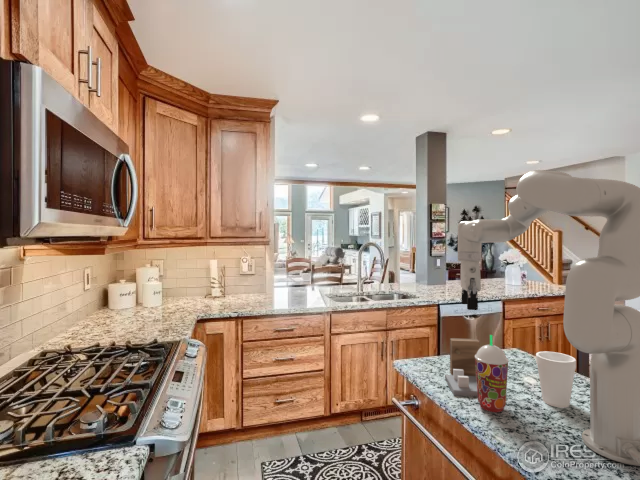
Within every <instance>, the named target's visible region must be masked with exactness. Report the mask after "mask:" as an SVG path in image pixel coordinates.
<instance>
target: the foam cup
mask: <svg viewBox="0 0 640 480" xmlns="http://www.w3.org/2000/svg"><path fill="white" fill-rule="evenodd" d="M535 363H536V366H537V370H538V371H537V372H538V378H539V379H538V380H539V385H540V391H541V398H542V402H543V403H545V404H547V405H549V406H552V407H555V408H561V409H563V408H564V409H565V408H569V407H570V403H571V397H572V393H573V392H572V391H573V385H574V377H575V372H576V369H577V360H576V358H575V357H573V356H571V355H569V354H565V353H561V352H557V351H556V352H555V351H548V350H547V351H546V350H544V351H543V350H542V351H538V352H536V353H535Z"/></svg>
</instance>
